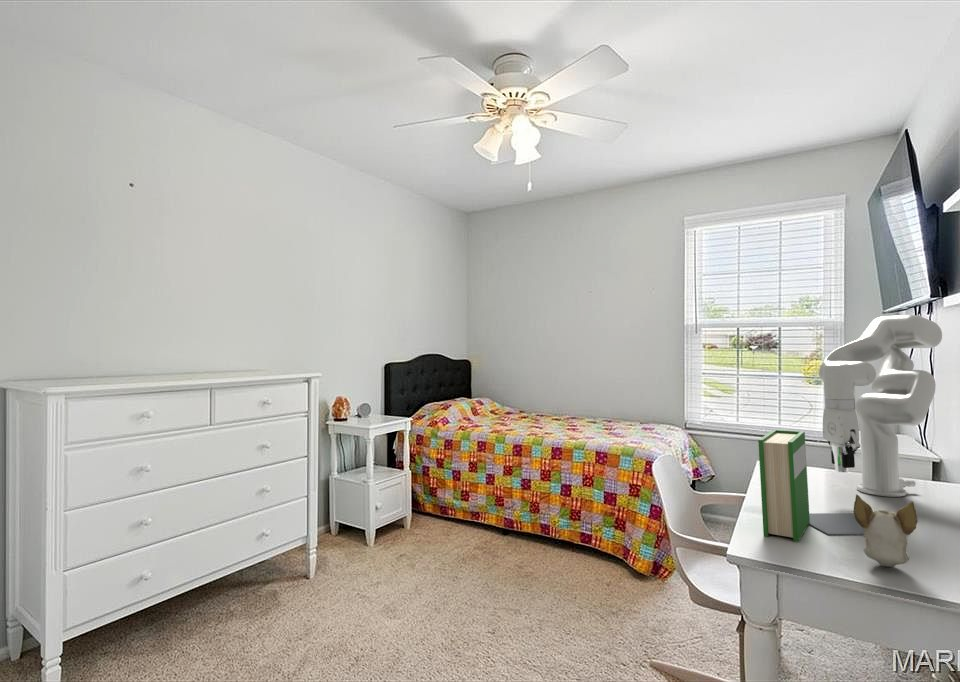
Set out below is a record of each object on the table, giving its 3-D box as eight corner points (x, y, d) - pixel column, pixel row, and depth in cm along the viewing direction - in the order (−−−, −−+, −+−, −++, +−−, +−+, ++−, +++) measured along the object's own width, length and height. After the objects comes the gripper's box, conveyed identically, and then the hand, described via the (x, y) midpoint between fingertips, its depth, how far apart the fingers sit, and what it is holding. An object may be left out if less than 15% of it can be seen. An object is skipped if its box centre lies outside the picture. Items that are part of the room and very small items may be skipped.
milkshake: (857, 473, 152) (855, 439, 151) (837, 473, 153) (835, 439, 152) (849, 469, 156) (848, 436, 156) (829, 469, 157) (828, 436, 157)
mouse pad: (863, 514, 144) (863, 512, 144) (910, 534, 128) (910, 532, 128) (791, 515, 144) (790, 513, 144) (828, 535, 128) (828, 533, 128)
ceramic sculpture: (918, 566, 109) (915, 495, 110) (920, 581, 103) (917, 505, 103) (856, 555, 116) (853, 488, 116) (854, 568, 109) (852, 497, 109)
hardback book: (798, 542, 124) (792, 442, 124) (763, 536, 129) (758, 439, 129) (809, 521, 137) (804, 431, 138) (778, 516, 142) (773, 429, 143)
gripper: (809, 401, 163) (813, 459, 163) (846, 408, 146) (849, 473, 146) (834, 400, 163) (837, 458, 163) (873, 407, 146) (876, 472, 146)
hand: (843, 464), depth 154 cm, fingers closed on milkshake, 4 cm apart
